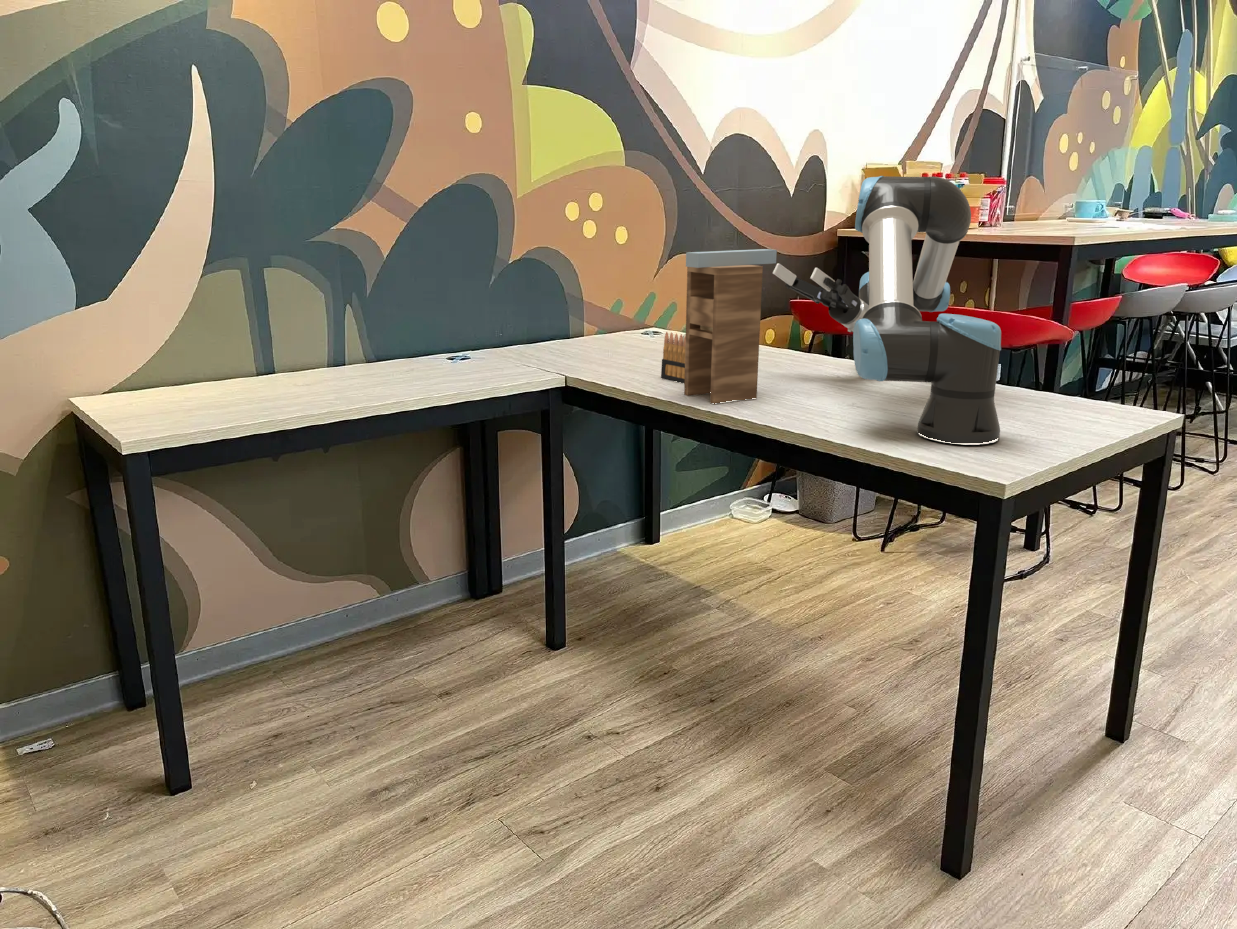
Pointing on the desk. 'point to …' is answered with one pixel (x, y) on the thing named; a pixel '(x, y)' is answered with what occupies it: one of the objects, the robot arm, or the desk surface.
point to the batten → (730, 258)
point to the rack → (723, 331)
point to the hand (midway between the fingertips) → (794, 270)
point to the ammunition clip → (673, 358)
